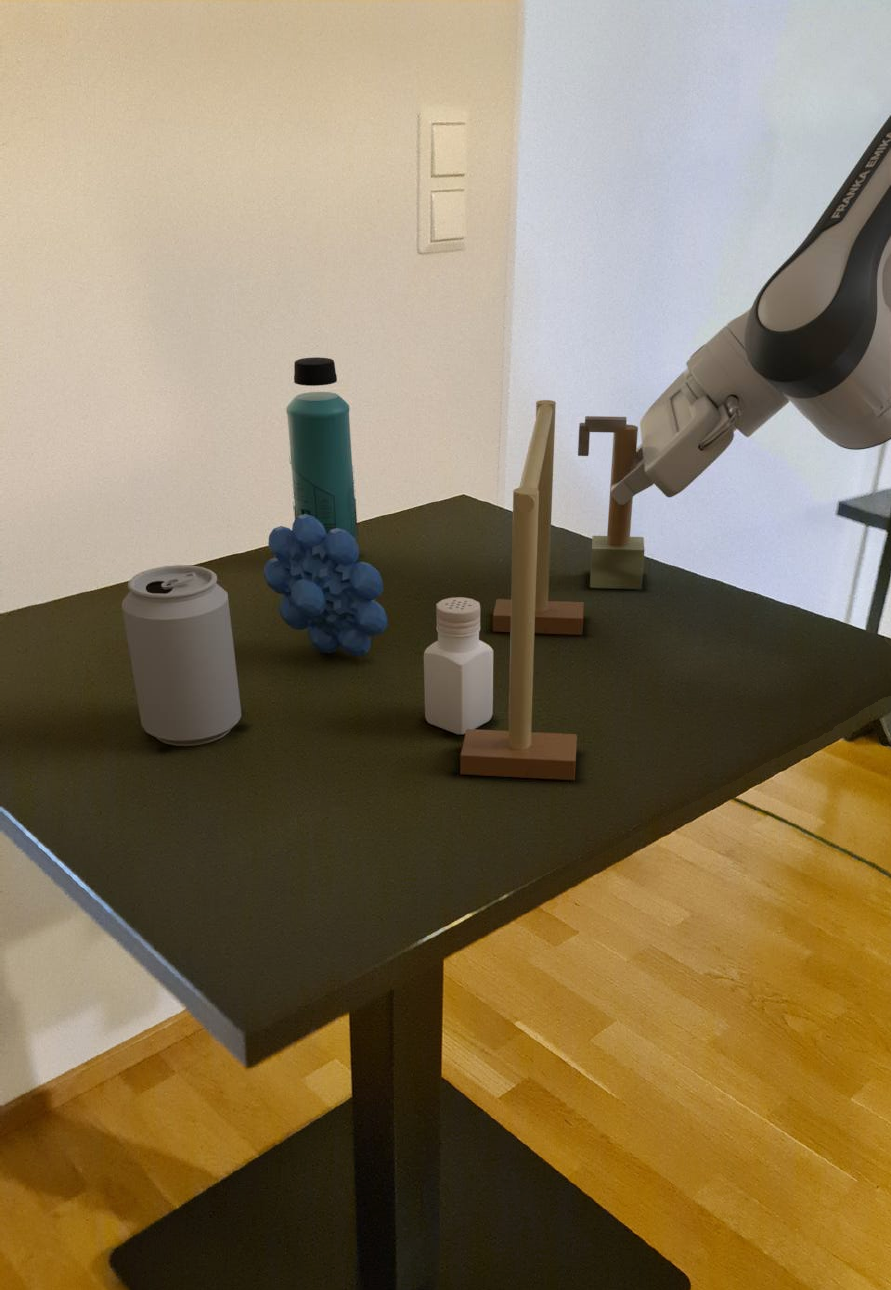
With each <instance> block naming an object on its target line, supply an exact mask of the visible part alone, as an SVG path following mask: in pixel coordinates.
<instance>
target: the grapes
mask: <svg viewBox="0 0 891 1290" xmlns="http://www.w3.org/2000/svg"><path fill="white" fill-rule="evenodd" d="M294 520H295V519H294ZM267 543H268V545H267V546H268V548H269V551H270V553H271V554H272V556H273V557H272V558H269V559H268V561H267V562H266V563H265V564H264V566H263V577H264V580H265V582H266V584H267V586H268V587H269V588H270V589H271V590H272V591H274V592H275V593H276V594H279V595H283V597H282V598H281V600H280V601H279V609H278V611H279V614H280V617H281V618H282V620H283V622H284V623H285V624H286V625H288V627H290V628H292V629H294V630H298V631H302V630H304V629H307V637H308V640H309V642H310V644H311V645H312V647H314V648H315V649H316V650H317V651H318V652H320V653H322V654H326V655H330V654H333V653H336V652H337V651H338V650H339V648H341V649H342V650H343V651H344V652H345V653H347V654H348V655H349V656H353V657H362V656H365V655H366V654H367V653H368V651H369V650H370V648H371V641H372V639H371V636H372V637H377V636H378V635H382V634H383V633H384V632H385V630H386V629H387V628H388V616H387V613H386V611H385V609H384V607H383V606H382V605H381V604H380V603H379V602H377V601H376V599H378V598H379V597H380V595H381V594H382V593H383V591H384V581H383V579H382V576H381V573H380V571H379V570H378V569H376V568H375V567H374V565H372V564H371V563H368V562H366V561H365V562H364V561H359V562H357V561H358V560H359V558H360V548H359V546H358V543H357V541H356V540H355V538H354V537H353V536H352V535H350V534H349V533H348V532H347V531H346V530H343V529H339V528H336V529H333V530H330V531H329V532H328V534H326V531H325V529H324V527H323V524H322V523H321V522H319V521H318V520H317V519H316V518H315V517H313V516H310V515H307V514H304V515H300V516H298V517H297V518H296V520H295V521H293V523H292V526H291V528H289V527H286V526H282V525H280V526H277V527H274V528H273V529H272V530H271V532H270V533H269V535H268V541H267Z"/></svg>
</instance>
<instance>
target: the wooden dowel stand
mask: <svg viewBox="0 0 891 1290" xmlns="http://www.w3.org/2000/svg"><path fill="white" fill-rule="evenodd" d="M556 405H557V403H556V401H555V400H550V399H540V400H536V402H535V421H534V425H533V429H532V432H531V433H532V434H531V437H530V442H529V445H528V449H527V453H526V458H525V460H524V461H525V462H524V466H523V470H522V475H521V478H520V482H519V485H518V486H519V487H517V488H514V489H513V491H512V533H511V536H512V537H511V539H512V540H511V542H512V543H511V583H510V584H511V585H510V587H511V588H510V589H511V590H510V591H511V592H510V599H504V598H503V599H502V598H497V599H496V601H495V606H494V608H493V609H494V610H493V615H492V632H493V633H510V635H509V636H510V640H509V686H508V689H509V690H508V693H509V694H508V730H497V729H496V730H495V729H493V730H492V729H477V728H475V729H467V730H466V733H465V734H464V737H463V742H462V746H461V751H460V755H459V761H460V763H459V764H460V765H459V767H460V769H459V774H460V775H465V776H482V777H484V776H485V777H502V778H503V777H504V778H523V779H541V780H559V781H575V779H576V764H577V763H576V762H577V743H578V735H577V734H575V733H557V732H553V733H552V732H537V731H536V732H535V731H532V723H533V694H534V693H533V691H534V690H533V689H534V657H535V634H542V635H543V634H546V635H547V634H548V635H570V636H572V635H573V636H574V635H575V636H582V635H583V631H584V630H583V629H584V613H585V612H584V611H585V610H584V609H585V602H584V601H564V600H563V601H562V600H561V601H559V600H549V593H550V592H549V589H550V565H551V564H550V563H551V560H550V559H551V542H552V541H551V540H552V539H551V535H552V514H553V513H552V509H553V486H554V485H553V483H554V459H555V458H554V456H555V432H556V407H557V406H556Z"/></svg>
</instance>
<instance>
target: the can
mask: <svg viewBox="0 0 891 1290" xmlns="http://www.w3.org/2000/svg"><path fill="white" fill-rule="evenodd" d="M217 582H218V575H217V574H216V573H215V572H214V571H213V570H211V569H209V568H206V567H203V566H197V565H192V564H191V565H189V564H188V565H187V564H175V565H164V566H158V567H153V568H149V569H147V570H144V571H141V572H139V573H137V574H134V575H133V576H132V577H131V578H130V579H129V581H127V589H128V590H129V592H128V593H127V595H126V596H125V597H124V598H123V600H122V603H121V611H122V617H123V623H124V628H125V634H126V641H127V648H128V652H129V653H128V654H129V660H130V664H131V670H132V671H131V672H132V677H133V683H134V689H135V695H136V700H137V706H138V712H139V719H140V725H141V727H142V729H143V730H144V731H145V732H146V734H149V735H151V736H152V737H155V738H156V739H157V740H158V741H159V742H162V743H163V744H167V745H171V746H178V747H191V746H192V747H193V746H201V745H204V744H209V743H212V742H214V741H218V740H220V739H222V738H224V736H225V737H226V735H227V734H229V733H230V731H231V730H232V728H234V727H235V726H236V725H237V724H238V723H239V722H240V720H241V718H242V717H243V716H242V706H241V698H240V697H241V696H240V688H239V681H238V674H237V664H236V654H235V645H234V637H233V629H232V621H231V611H230V603H229V595H228V592H227V591H226V590H225V589H224V588H223V587H222V586H220V585H219V584H218V583H217Z"/></svg>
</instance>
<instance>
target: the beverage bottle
mask: <svg viewBox="0 0 891 1290" xmlns="http://www.w3.org/2000/svg"><path fill="white" fill-rule="evenodd" d="M293 367H294V369H293V370H294V373H293V383H294V384H296V385H299V386H308V387H309V386H310V387H311V386H312V387H319V386H328V385H332V384H335V383H337V382H338V376H337V373H336V372H337V371H336V363H335V361H334V359H332V358H328V357H318V356H317V357H303V358H299V359H297V360H295V361H294V366H293ZM350 409H351V408H350V405H349V404H348V402H347V401H346V400H345V399H344V398H343V397H341V396H340V394H337V393H336V392H330V391H309V392H304V393H299V394H297V395H295V397H293V398H292V400H290V402H289V403H288V404H287V406H286V408H285V413H286V415H287V417H286V419H287V427H288V428H287V429H288V439H289V443H288V445H289V456H288V457H289V459H288V462H289V464H290V466H291V475H292V476H291V478H292V483H291V485H292V495H293V496H292V498H293V502H292V507H293V508H292V509H293V511H294V513H293V517H294V519H293V520H294V521H295V520H296V518H297V517H298V516H300V515H304V514H307V515H310V516H313V517H315V518H316V519H317V520H318V521H319V522H321V523H322V524H323V527H324V529H325V531H326V534H328V532H329V531H330V530H333V529H336V528H339V529H343V530H346V531H347V532H348V533H349V534H350V535H352V536H353V537H354V538H355V540H356V542H357V541H358V539H359V537H358V536H359V534H358V533H359V529H358V514H357V505H358V504H357V503H356V502H357V498H356V497H355V493H356V487H355V482H356V480H355V479H356V478H354V470H355V469H354V468H355V467H354V466H353V458H352V457H353V456H352V441H351V424H350V422H351V421H350ZM294 521H293V522H294Z"/></svg>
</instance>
